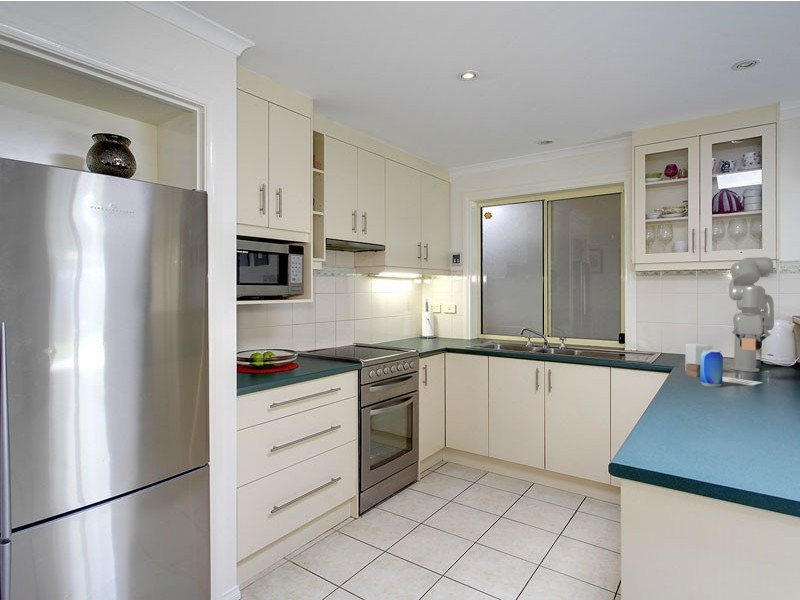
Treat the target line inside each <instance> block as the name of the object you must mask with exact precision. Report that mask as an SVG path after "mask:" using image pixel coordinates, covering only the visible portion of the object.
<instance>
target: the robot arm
mask: <svg viewBox="0 0 800 600" xmlns="http://www.w3.org/2000/svg"><path fill="white" fill-rule="evenodd" d="M773 270H774V262H773V260H772V259H771V258H770V257H766V256H764V257H763V256H762V257H758V256H756V257H745V258H742V259H741V260H739V262H736V263H733V264H732V265H731V267H730V272H731V273H730V275H731V278H732V279H731V280H730V282H729V286H728V293H729V297H730V299H731V300H732V301H736V302H735V303H736V308H737V309H738V310H740V311H741V312H737V313H736V314H734V315H733V318H732V321H733V328H734V329H733V330H732V332H731V333H732V334H733V335H734V350H733V351H734V353H733V354H734V356H733V357H734V358H733V359H734V360H733V364H734V365H731V366H730V369H731V370H734V371H740V372H749V373H750V372H751V373H752V372H753V373H754V372H760V368H757V351H760V350H761V348H762V343H763V341H764V340H766V338H768V337H770V336H771V333H770V332H769V331H771V330H773V329H774V326H775V309H774V307H775V305H774V299H773V297H772V296H771V295H770V294H767V293H766V289H764V287H763V286H761V285H755V284H756V283H757V282H759V280H760V278H768V277H769V276H770V275H771V274H772V272H773ZM746 337H747V338H757V342H756V349H757V350H756V351H754V350H744V349H741V347H742V338H746ZM759 349H760V350H759Z"/></svg>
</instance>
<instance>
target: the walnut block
mask: <svg viewBox="0 0 800 600" xmlns="http://www.w3.org/2000/svg"><path fill="white" fill-rule="evenodd" d="M685 376H687V377H695V378H700V365H699V364H686V371H685Z"/></svg>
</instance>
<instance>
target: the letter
mask: <svg viewBox="0 0 800 600" xmlns="http://www.w3.org/2000/svg"><path fill="white" fill-rule="evenodd" d="M722 382H727V383H733V384H741V385H744V386H745V385H746V386H756V385H759V384H763V382H762V381H756V380H755V381H754V380H748V379H742V378H735V377H727V376H722Z"/></svg>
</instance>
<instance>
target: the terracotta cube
mask: <svg viewBox="0 0 800 600" xmlns="http://www.w3.org/2000/svg"><path fill="white" fill-rule="evenodd" d="M756 342H757V337H756V338H747V337H746V338H742V347H741V349H744V350H754V351H756V352H757V351H760V350H761V348H760V349H759V350H757V349H756Z"/></svg>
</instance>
